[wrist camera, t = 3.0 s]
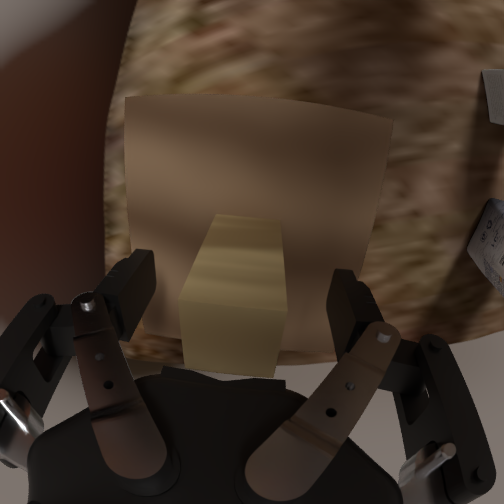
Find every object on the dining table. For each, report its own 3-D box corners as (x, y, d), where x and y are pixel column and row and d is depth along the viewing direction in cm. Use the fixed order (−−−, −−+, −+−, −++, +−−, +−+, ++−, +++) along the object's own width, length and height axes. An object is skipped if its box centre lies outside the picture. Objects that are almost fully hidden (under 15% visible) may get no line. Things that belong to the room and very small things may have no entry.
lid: (135, 97, 13) (25, 104, 6) (384, 118, 13) (486, 141, 5) (150, 322, 20) (109, 414, 13) (330, 340, 20) (348, 441, 13)
